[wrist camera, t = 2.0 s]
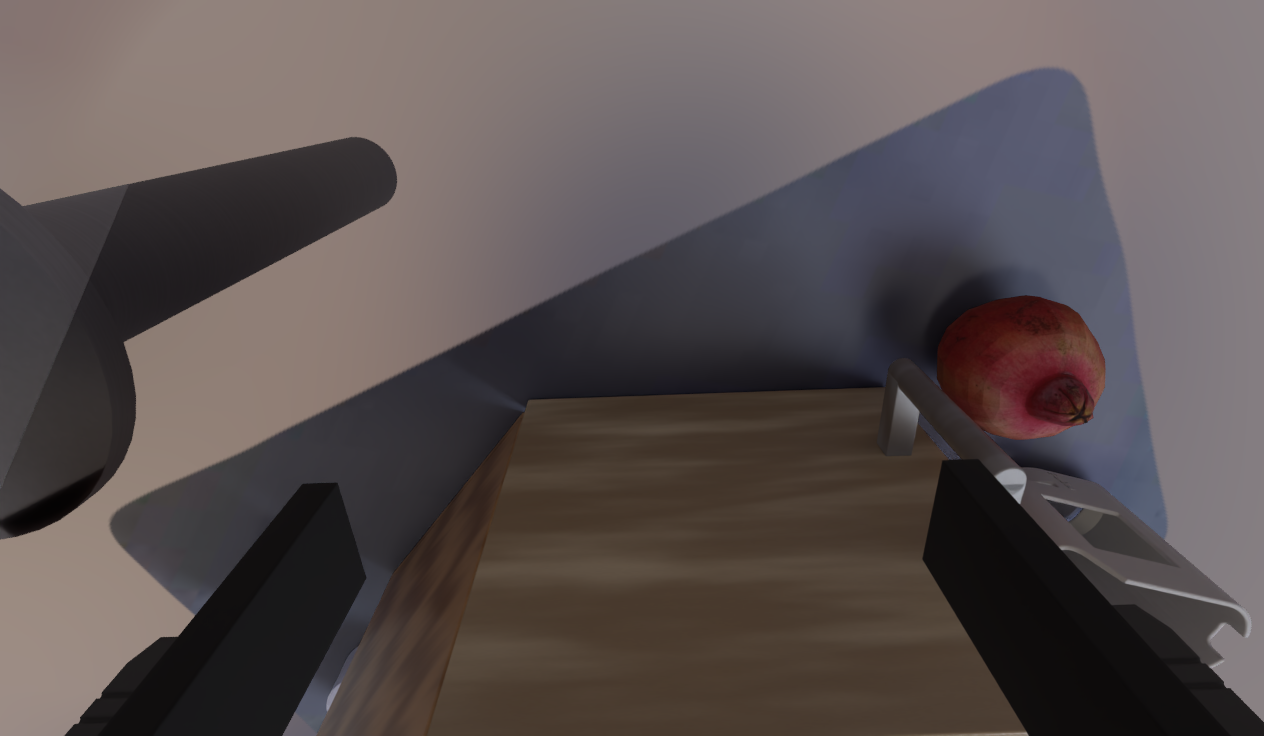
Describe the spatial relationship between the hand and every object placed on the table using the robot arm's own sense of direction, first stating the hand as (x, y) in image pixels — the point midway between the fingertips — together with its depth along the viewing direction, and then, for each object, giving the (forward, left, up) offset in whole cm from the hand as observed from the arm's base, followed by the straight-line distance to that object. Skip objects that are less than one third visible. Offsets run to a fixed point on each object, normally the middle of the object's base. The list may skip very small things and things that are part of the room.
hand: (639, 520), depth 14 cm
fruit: (+21, +9, -25) cm, 34 cm away
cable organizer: (+33, +3, -25) cm, 42 cm away
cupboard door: (+9, -3, -25) cm, 26 cm away
